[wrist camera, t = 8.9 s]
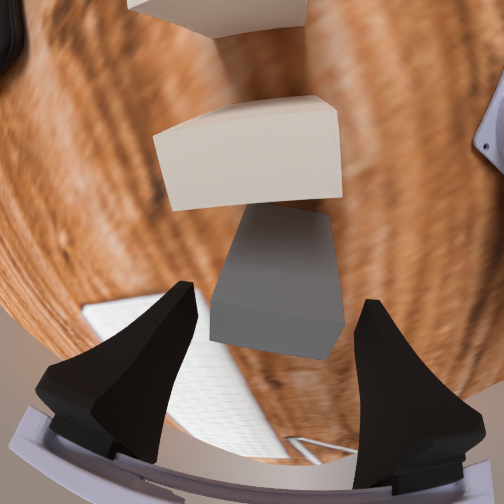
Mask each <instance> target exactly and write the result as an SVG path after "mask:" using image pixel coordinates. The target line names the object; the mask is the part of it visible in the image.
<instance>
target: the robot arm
mask: <svg viewBox="0 0 504 504" xmlns="http://www.w3.org/2000/svg"><path fill="white" fill-rule="evenodd" d="M485 143H486V148H485V149H483V146H484V144H485ZM473 144H474V146H475V148H476V149H477V150H479V151H480V152H481V153H482V154H483V155H484V156H485V157H486V158H487V159H488V160H489V161H490V162H491V163H492V164H493V165H494V166H496V167H497V168H498V169H499V170H500V171H501V172H502V174H503V175H504V70H503V73H502V76H501V78H500V81H499V83H498V86H497V88H496V91H495V93H494V95H493V98H492V100H491V102H490V104H489V107H488V109H487V111H486V113H485V115H484V118H483V120H482V122H481V124H480V126H479V128H478V130H477V132H476V134H475V136H474V138H473ZM197 320H198V311H197V305H196V298H195V291H194V284H193V282H186V281H179V282H178V283H177V284H175V285H174V286H173V287H172V288H171V289H170V290H169V291H168V292H167V293H166V294H165V295H164V296H162V297H161V298H160V299H159V300H158V301H157V302H156V303H155V304H154V305H153V306H151V307H150V308H149V309H148V310H147V311H146V312H145V313H143V314H142V315H141V316H140V317H138V318H137V319H136V320H135V321H134V322H132V323H131V324H130V325H128V326H127V327H126V328H124V329H123V330H122V331H120V332H119V333H117V334H116V335H114V336H113V337H111V338H109V339H108V340H106V341H104V342H103V343H101V344H99V345H97V346H96V347H94V348H92V349H90V350H88V351H86V352H84V353H82V354H80V355H77V356H75V357H73V358H70V359H68V360H65V361H62V362H60V363H57V364H54V365H51V366H49V367H48V368H47V370H46V372H45V373H44V375H43V376H42V378H41V380H40V382H39V383H38V385H37V387H36V389H35V390H36V393H37V395H38V396H39V398H40V399H41V400H42V401H43V402H44V403H45V404H46V405H47V406H48V407H49V408H50V409H51V410H52V411H53V412H54V413H55V416H54V418H53V419H52V418H51V417H50V416H48V415H47V414H45V413H43V412H42V411H40V410H38V409H36V408H35V407H33V406H31V405H29V407H28V409H27V411H26V412H25V414H24V416H23V418H22V420H21V422H20V424H19V426H18V428H17V430H16V432H15V434H14V436H13V438H12V440H11V442H10V444H9V449H11V450H12V451H13V452H15V453H16V454H17V455H19V456H20V457H21V458H22V459H24V460H25V461H27V462H28V463H29V464H31V465H32V466H33V467H35V468H36V469H38V470H39V471H41V472H42V473H43V474H45V475H46V476H48V477H49V478H51V479H52V480H54V481H56V482H57V483H58V484H60V485H62V486H63V487H65V488H67V489H68V490H70V491H72V492H73V493H75V494H77V495H78V496H80V497H82V498H84V499H86V500H88V501H89V502H91V503H93V504H184V502H185V499H184V498H182V497H180V496H177V495H175V494H174V493H172V491H170V490H168V489H165V488H162V487H159V486H156V485H154V484H151V483H149V482H146V481H145V480H148V481H151V482H154V483H157V484H160V485H164V486H167V487H170V488H174V489H178V490H182V491H185V492H189V493H194V494H198V495H202V496H207V497H212V498H217V499H222V500H228V501H234V502H241V503H248V504H494V495H493V494H494V493H493V484H492V474H491V467H490V460H488V459H487V460H484V461H481V462H478V463H475V464H472V465H469V466H467V467H464V468H463V466H462V462H464V461H465V459H466V456H465V452H467V451H468V450H470V449H471V448H473V447H474V446H476V445H477V444H478V443H480V442H481V441H482V440H483V439H484V437H485V436H486V430H485V426H484V422H483V418H482V415H481V414H480V413H479V412H477V411H476V410H474V409H473V408H472V407H470V406H469V405H467V404H466V403H465V402H463V401H462V400H461V399H460V398H459V397H457V396H456V395H455V394H454V393H453V392H451V391H450V390H449V389H448V388H447V387H446V386H445V385H444V384H443V383H442V382H441V381H440V380H439V379H438V378H437V377H436V376H435V375H434V374H433V373H432V372H431V371H430V370H429V368H428V367H427V366H426V365H425V364H424V363H423V362H422V360H421V359H420V358H419V357H418V355H417V354H416V353H415V351H414V350H413V349H412V348H411V346H410V345H409V343H408V342H407V341H406V339H405V338H404V336H403V335H402V333H401V332H400V330H399V329H398V328H397V326H396V324H395V323H394V321H393V320H392V318H391V317H390V315H389V314H388V312H387V311H386V309H385V308H384V306H383V305H382V303H381V302H380V300H372V299H366V300H365V303H364V306H363V309H362V312H361V315H360V318H359V320H358V323H357V326H356V329H355V331H354V351H355V361H356V369H357V376H358V384H359V393H360V406H361V408H360V435H359V448H358V457H357V465H356V471H355V478H354V483H353V488H352V490H327V491H326V490H325V491H317V490H315V491H313V490H288V489H273V488H264V487H254V486H246V485H240V484H233V483H227V482H222V481H216V480H211V479H206V478H202V477H197V476H193V475H188V474H185V473H181V472H177V471H173V470H170V469H166V468H162V467H159V466H156V465H153V464H154V463H156V462H157V455H158V449H159V443H160V437H161V433H162V428H163V423H164V419H165V414H166V410H167V406H168V402H169V399H170V395H171V391H172V388H173V385H174V382H175V379H176V376H177V374H178V371H179V369H180V367H181V364H182V362H183V359H184V357H185V355H186V352H187V350H188V347H189V345H190V343H191V340H192V338H193V334H194V331H195V327H196V324H197ZM144 479H145V480H144Z"/></svg>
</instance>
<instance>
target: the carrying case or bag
mask: <svg viewBox="0 0 504 504" xmlns="http://www.w3.org/2000/svg"><path fill="white" fill-rule="evenodd" d="M23 44H24V32H23V24H22V16H21V8H20V0H0V76H1V75H2V74H3V73H4V72H5V71H6V70H7V69H8V68H9V66H10V65H11V64H12V63H13V62H14V61H15V59H16V58H17V56H18V55H19V54H20V52H21V50H22V48H23Z"/></svg>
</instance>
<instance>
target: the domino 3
mask: <svg viewBox="0 0 504 504" xmlns="http://www.w3.org/2000/svg"><path fill="white" fill-rule="evenodd" d="M344 325H345V318H344V310H343V302H342V294H341V287H340V280H339V273H338V266H337V260H336V254H335V248H334V242H333V236H332V230H331V225H330V219H329V215H326V214H321V213H317V212H311V211H306V210H301V209H296V208H291V207H285V206H280V205H274V204H269V203H251V204H247V206H246V209H245V211H244V214H243V216H242V219H241V221H240V224H239V227H238V229H237V232H236V234H235V237H234V240H233V242H232V245H231V247H230V250H229V253H228V255H227V258H226V261H225V263H224V266H223V268H222V271H221V274H220V276H219V279H218V282H217V284H216V287H215V290H214V292H213V295H212V298H211V308H210V338H209V340H210V341H215V342H219V343H224V344H229V345H234V346H239V347H244V348H249V349H255V350H260V351H266V352H272V353H277V354H284V355H290V356H297V357H304V358H311V359H318V360H327V358H328V356H329V354H330V352H331V350H332V348H333V346H334V344H335V343H336V341H337V339H338V337H339V335H340V333H341V331H342V329H343V327H344Z"/></svg>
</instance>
